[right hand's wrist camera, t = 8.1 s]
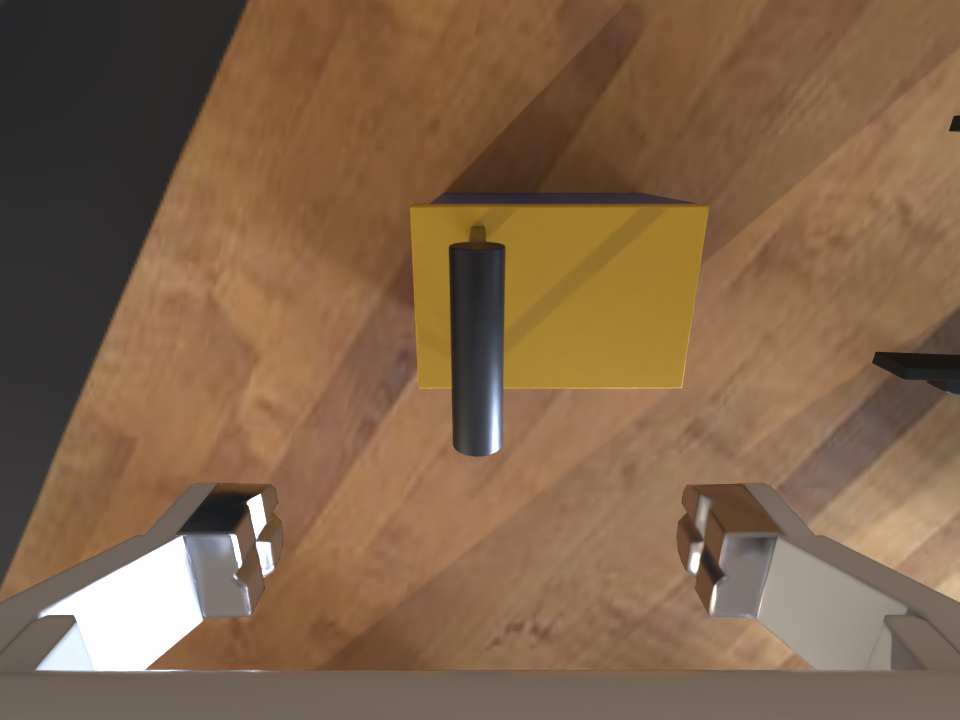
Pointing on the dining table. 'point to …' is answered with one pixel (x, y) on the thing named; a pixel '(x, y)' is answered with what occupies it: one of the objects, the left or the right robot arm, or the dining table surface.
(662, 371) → the lid
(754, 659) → the dining table surface
